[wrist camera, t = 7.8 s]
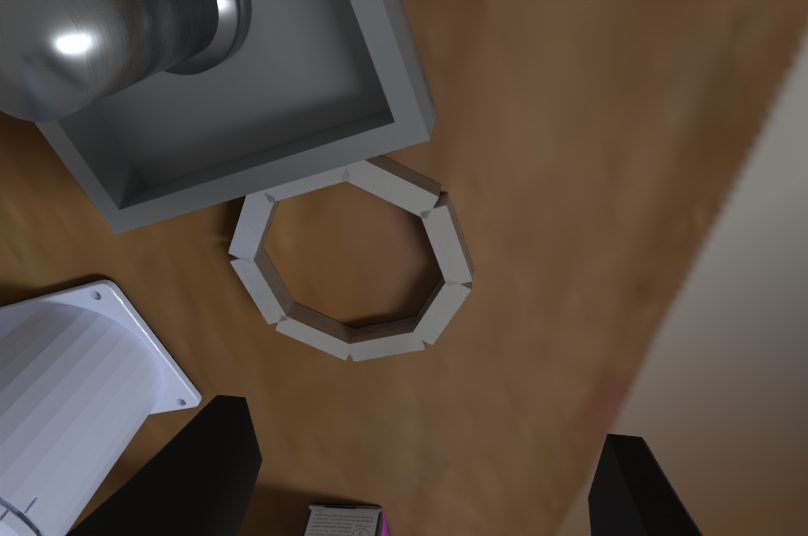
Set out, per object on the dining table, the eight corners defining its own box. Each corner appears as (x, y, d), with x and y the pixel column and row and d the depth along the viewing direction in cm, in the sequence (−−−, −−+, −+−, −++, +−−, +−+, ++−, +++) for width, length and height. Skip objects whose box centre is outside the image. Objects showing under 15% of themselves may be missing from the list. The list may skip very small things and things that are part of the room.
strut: (266, 60, 17) (142, 140, 11) (151, 70, 17) (-25, 150, 11) (230, -92, 14) (50, -99, 8) (100, -74, 15) (-150, -68, 9)
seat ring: (304, 356, 25) (297, 371, 24) (203, 187, 20) (191, 199, 19) (492, 321, 22) (492, 337, 21) (423, 118, 17) (419, 128, 17)
